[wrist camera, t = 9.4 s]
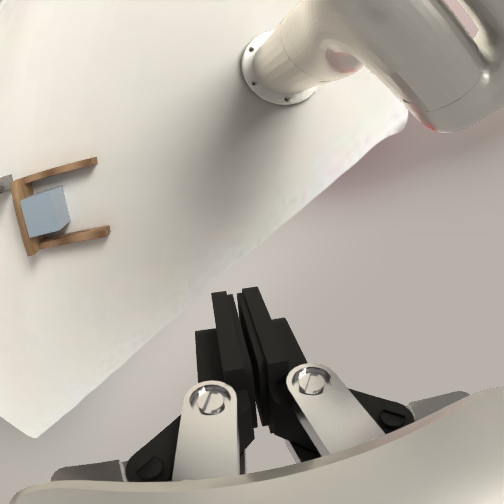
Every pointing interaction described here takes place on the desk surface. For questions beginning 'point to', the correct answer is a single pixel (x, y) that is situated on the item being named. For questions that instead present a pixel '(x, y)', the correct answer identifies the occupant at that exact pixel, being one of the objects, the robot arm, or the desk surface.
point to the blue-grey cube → (45, 212)
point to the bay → (24, 190)
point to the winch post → (5, 183)
